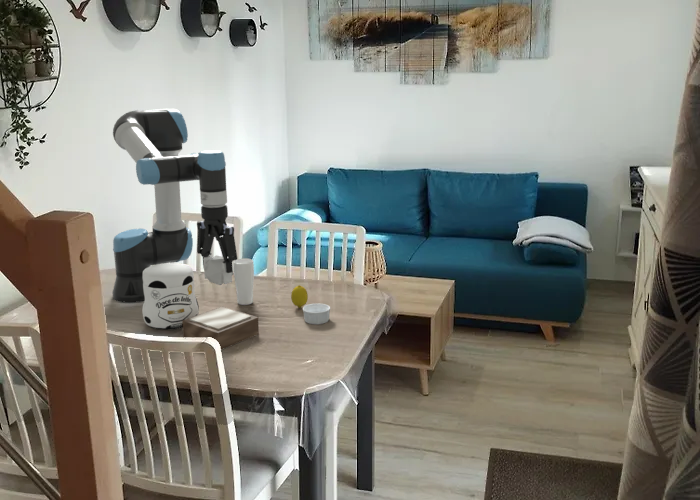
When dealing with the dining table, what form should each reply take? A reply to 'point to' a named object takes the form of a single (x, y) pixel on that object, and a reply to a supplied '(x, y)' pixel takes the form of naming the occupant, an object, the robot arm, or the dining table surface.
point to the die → (215, 270)
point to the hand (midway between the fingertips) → (218, 280)
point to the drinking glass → (244, 280)
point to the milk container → (168, 295)
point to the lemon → (299, 296)
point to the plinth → (222, 326)
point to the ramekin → (316, 313)
